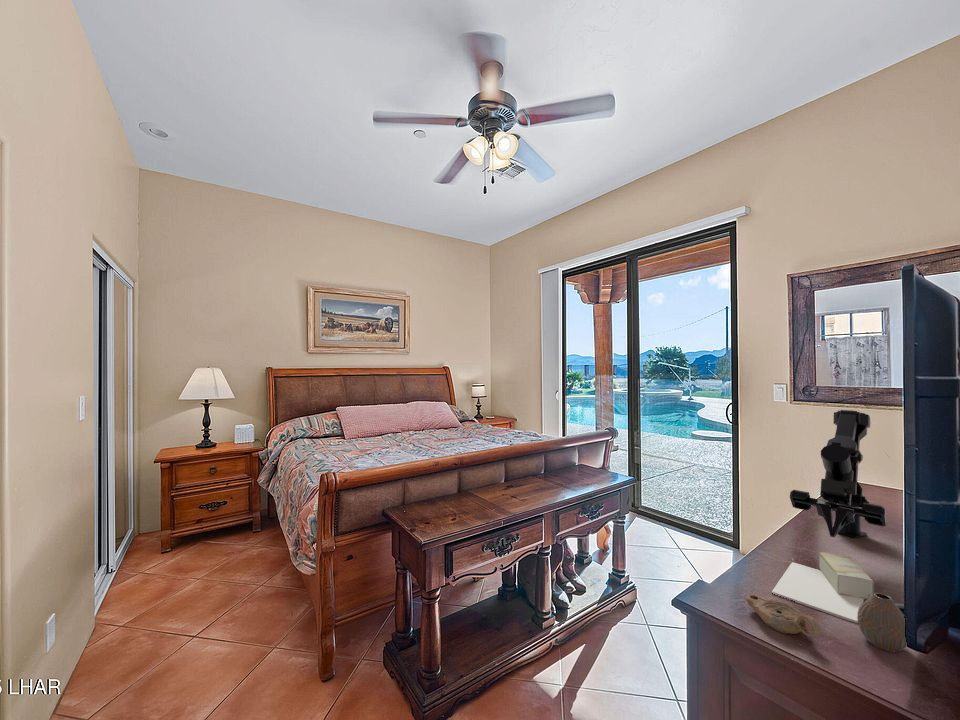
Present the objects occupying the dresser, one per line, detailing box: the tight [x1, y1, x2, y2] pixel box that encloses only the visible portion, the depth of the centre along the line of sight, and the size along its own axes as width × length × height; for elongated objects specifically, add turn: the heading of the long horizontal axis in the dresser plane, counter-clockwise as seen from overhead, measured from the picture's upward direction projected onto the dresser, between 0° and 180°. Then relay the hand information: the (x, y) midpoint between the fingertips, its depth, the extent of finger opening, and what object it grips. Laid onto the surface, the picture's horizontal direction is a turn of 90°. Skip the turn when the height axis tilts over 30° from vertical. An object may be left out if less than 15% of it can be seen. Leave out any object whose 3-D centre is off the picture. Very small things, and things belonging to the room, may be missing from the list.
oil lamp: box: [746, 594, 821, 638], centre depth 79 cm, size 13×8×5 cm, turn 14°
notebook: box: [771, 561, 865, 625], centre depth 91 cm, size 20×14×1 cm
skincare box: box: [818, 551, 875, 600], centre depth 93 cm, size 6×4×12 cm
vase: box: [857, 592, 908, 653], centre depth 74 cm, size 7×7×9 cm
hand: (832, 536), depth 103 cm, fingers closed
